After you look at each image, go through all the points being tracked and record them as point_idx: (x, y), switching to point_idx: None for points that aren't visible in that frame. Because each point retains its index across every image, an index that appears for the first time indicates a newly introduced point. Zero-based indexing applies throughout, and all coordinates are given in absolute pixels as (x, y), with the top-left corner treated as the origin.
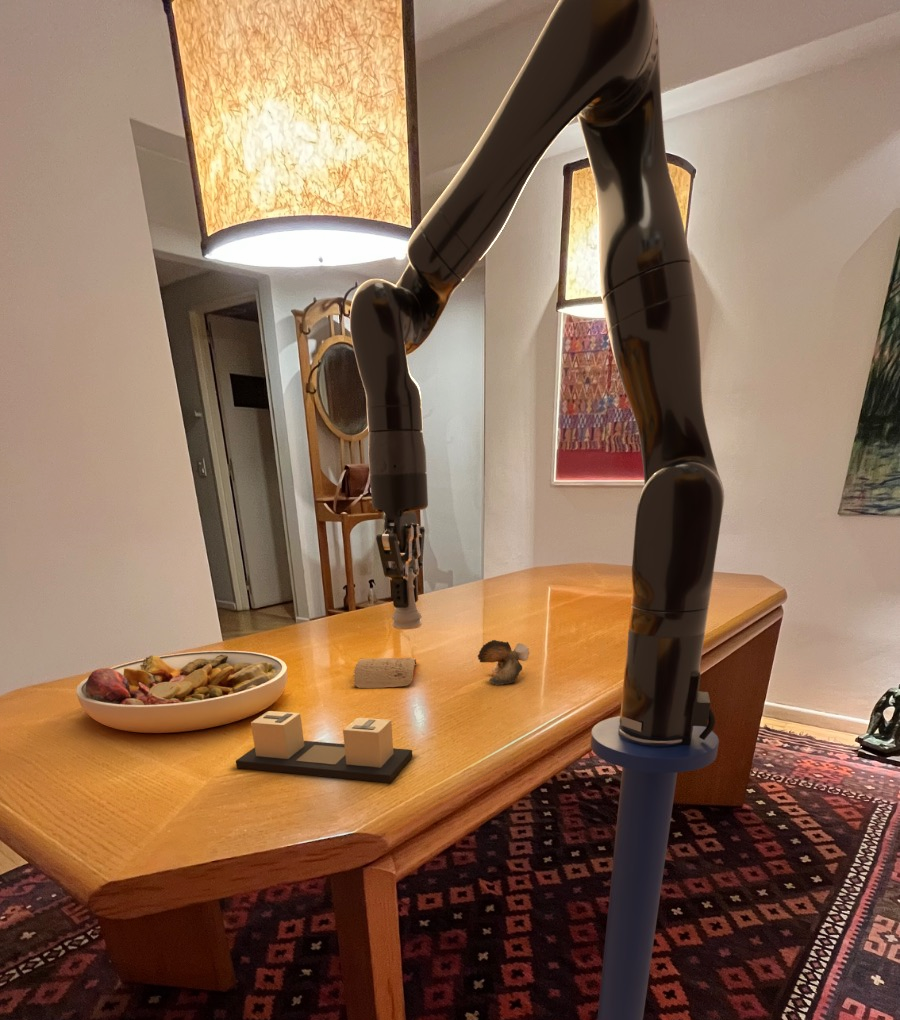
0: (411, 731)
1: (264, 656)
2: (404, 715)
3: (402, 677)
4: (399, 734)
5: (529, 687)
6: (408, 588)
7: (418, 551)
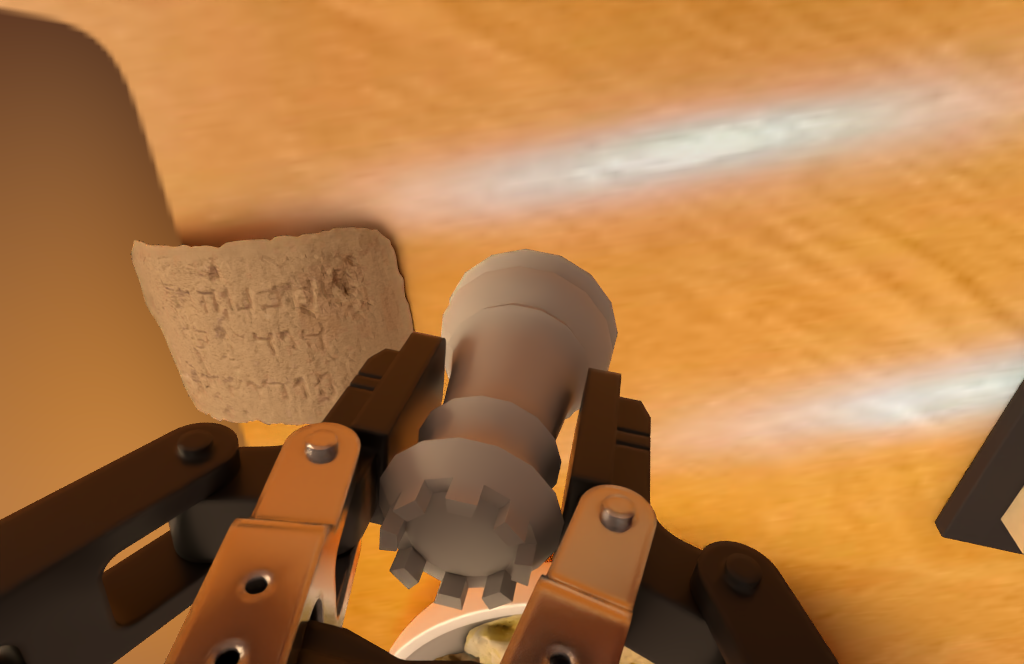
0: (891, 147)
1: (406, 658)
2: (705, 199)
3: (351, 263)
4: (917, 185)
5: None
6: (587, 434)
7: (275, 565)
